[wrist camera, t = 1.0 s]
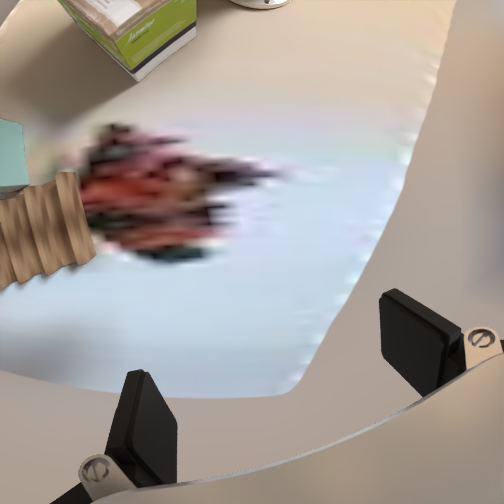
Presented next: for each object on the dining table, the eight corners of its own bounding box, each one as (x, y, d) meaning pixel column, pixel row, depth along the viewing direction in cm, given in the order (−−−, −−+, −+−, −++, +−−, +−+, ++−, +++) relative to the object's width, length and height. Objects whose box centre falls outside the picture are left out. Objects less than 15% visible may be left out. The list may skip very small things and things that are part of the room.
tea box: (78, 30, 26) (37, -21, 12) (134, -13, 26) (115, -75, 12) (138, 86, 31) (106, 35, 16) (199, 38, 30) (201, -29, 16)
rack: (-9, 210, 30) (-26, 214, 26) (75, 172, 32) (60, 172, 27) (11, 281, 33) (-4, 291, 28) (96, 255, 34) (84, 264, 30)
